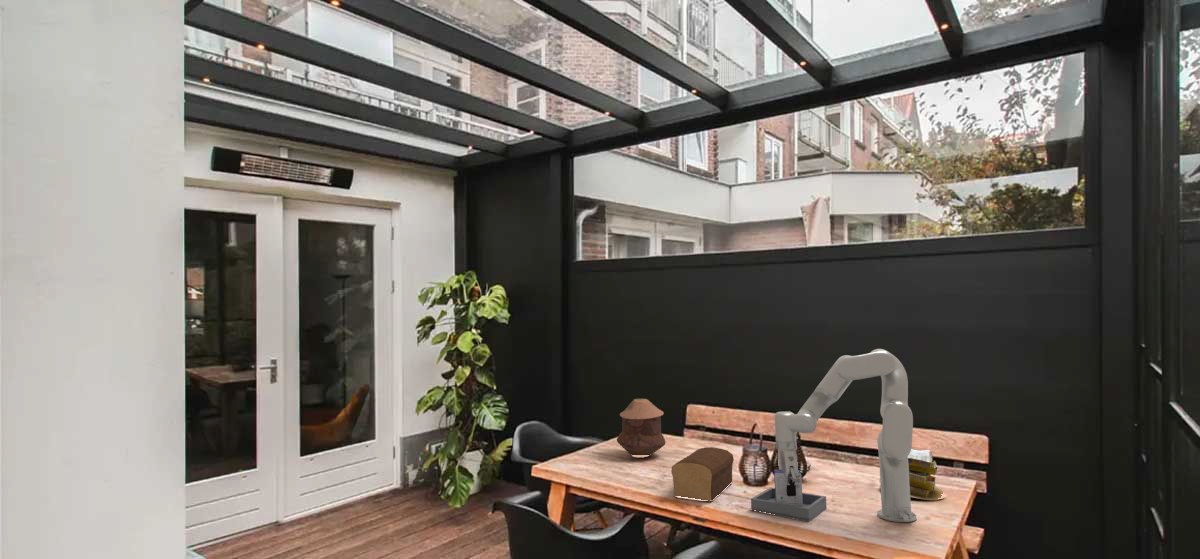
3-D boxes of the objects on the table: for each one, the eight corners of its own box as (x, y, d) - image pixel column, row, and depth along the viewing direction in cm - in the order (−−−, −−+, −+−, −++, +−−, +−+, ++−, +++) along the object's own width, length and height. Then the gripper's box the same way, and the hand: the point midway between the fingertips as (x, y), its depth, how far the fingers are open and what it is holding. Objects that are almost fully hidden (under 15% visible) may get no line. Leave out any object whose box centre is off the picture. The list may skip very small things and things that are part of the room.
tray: (826, 508, 232) (825, 496, 233) (808, 521, 218) (808, 509, 219) (771, 498, 246) (770, 487, 246) (751, 510, 232) (750, 498, 232)
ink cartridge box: (801, 501, 234) (799, 463, 235) (803, 506, 229) (801, 466, 229) (774, 500, 236) (773, 462, 237) (776, 505, 231) (774, 466, 231)
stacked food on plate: (955, 490, 250) (952, 449, 251) (937, 505, 232) (934, 460, 233) (891, 480, 267) (889, 441, 268) (870, 494, 249) (868, 452, 250)
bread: (671, 498, 251) (669, 458, 252) (696, 480, 277) (694, 444, 278) (714, 504, 242) (712, 462, 243) (735, 484, 268) (734, 447, 269)
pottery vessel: (642, 449, 342) (640, 394, 344) (676, 456, 323) (674, 398, 325) (607, 457, 326) (605, 399, 327) (641, 465, 306) (639, 404, 308)
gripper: (803, 449, 225) (806, 499, 224) (788, 440, 242) (791, 486, 241) (783, 450, 225) (786, 500, 224) (769, 440, 242) (772, 487, 241)
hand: (788, 492), depth 233 cm, fingers closed on ink cartridge box, 6 cm apart
